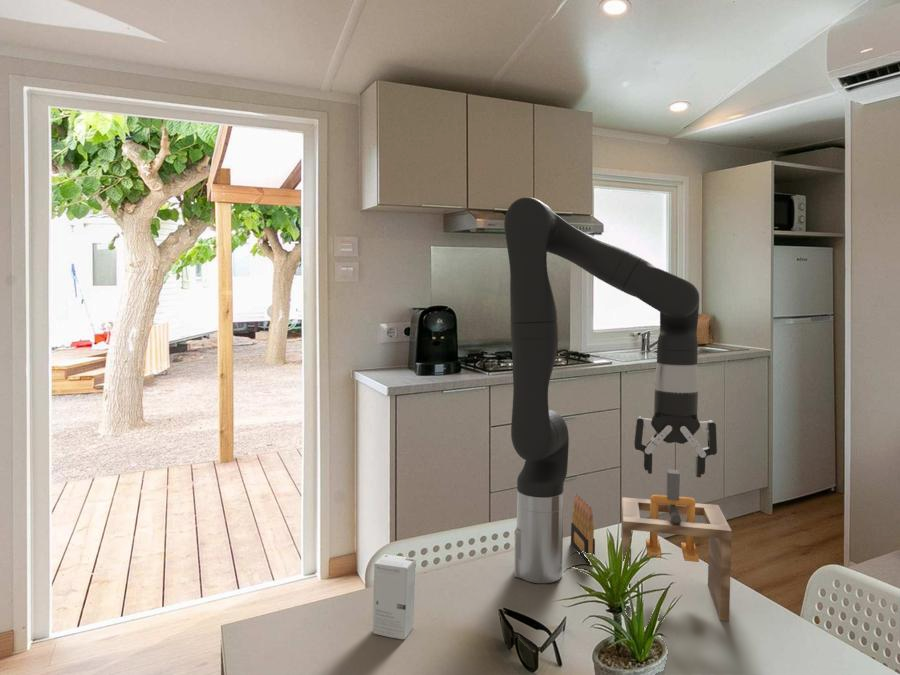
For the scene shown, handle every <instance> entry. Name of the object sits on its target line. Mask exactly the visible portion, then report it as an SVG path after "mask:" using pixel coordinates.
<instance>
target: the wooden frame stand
mask: <svg viewBox="0 0 900 675" xmlns="http://www.w3.org/2000/svg"><path fill="white" fill-rule="evenodd" d="M665 496H667V494H666V495H665ZM650 507H651V501H650V498H649V499H648V498H637V497H635V498H633V497H625V496H623V497H621V532H620V533H621V534H620V535H621V536H620V537H621V538H622V540H623V561H624V559H625V556H626V552H627V549H628V545H629V541H630V537H633V536H632V535H633V534H632V533H633V532H632V531H638V532H647V533H648V532H649V533H650V532H657V533H658V534H667V535H669V534H670V535H678V536H686V535H689V536H694V537H699V538H700V537H701V538H708V565H707V566H708V567H707V587H708V590H709V592H710V595H711V598H712V602H713V604H714V607H715V610H716V613H717V616H718V619H719V621H723V622H729V621H730V603H731V602H730V599H731V598H730V597H731V573H732V572H731V570H732V567H731V566H732V543H733V542H732V540H733V538H732V537H733V533H732V532H733V531H732V528H731V527H730V525H729V523H728V521H727V519H726V517H725V515H724V513H723V511H722V509H721V508H720V505H719V504H709V503H699V502H698V503H697V502H696V504H695V516H702V517H703V518H704V520H705V523H702V522H701V523H700V522H695V523H691V522H686V521H682V520H681V516H680V514H681V515H687V506H679V505H666V504H658V513H669V517H670V518H669V519H670V520H666V519H658V520H657V519H650V518H644V517H643V518H642V517H641V515H640V514H641V513H640V511H646V512H647V511H648V512H650ZM621 538H620V539H621ZM631 540H632V538H631ZM628 566H629V567H630V566H631V567H632V548H631V549H630V557H629V565H628ZM631 585H632V584H631V583H630V584H629V588H630V589H631ZM627 609H629V610H630V609H631V606H630V607H629V606H627V608H626V610H627Z"/></svg>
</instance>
